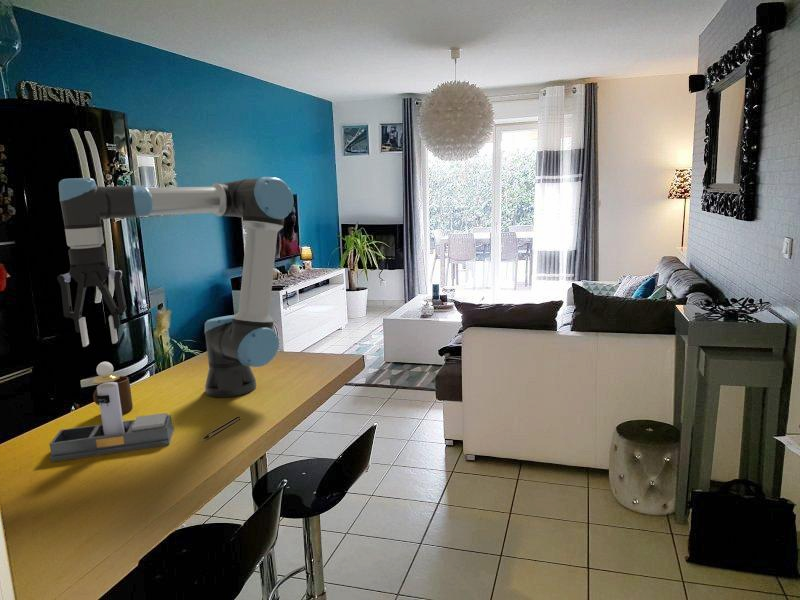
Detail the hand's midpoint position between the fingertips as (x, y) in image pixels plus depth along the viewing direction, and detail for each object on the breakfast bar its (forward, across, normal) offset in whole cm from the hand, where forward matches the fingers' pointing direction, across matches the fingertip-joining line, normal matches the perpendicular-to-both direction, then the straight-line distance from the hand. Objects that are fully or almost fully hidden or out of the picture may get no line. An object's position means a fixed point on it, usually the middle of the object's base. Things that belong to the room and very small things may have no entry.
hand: (100, 343), depth 138 cm
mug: (+26, +5, -23) cm, 35 cm away
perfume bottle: (+25, 0, 0) cm, 25 cm away
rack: (+26, 0, 0) cm, 26 cm away
